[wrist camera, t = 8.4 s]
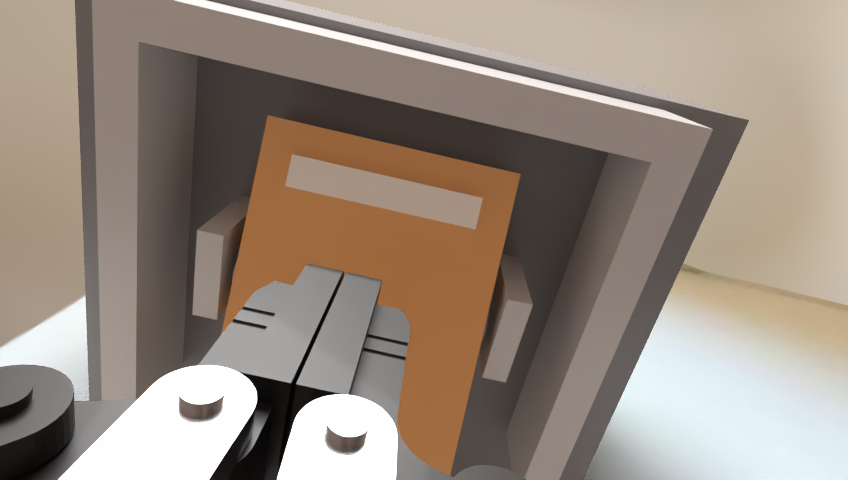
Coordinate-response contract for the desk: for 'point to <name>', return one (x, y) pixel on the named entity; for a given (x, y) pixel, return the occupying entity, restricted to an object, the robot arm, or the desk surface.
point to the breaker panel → (404, 126)
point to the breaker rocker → (386, 252)
